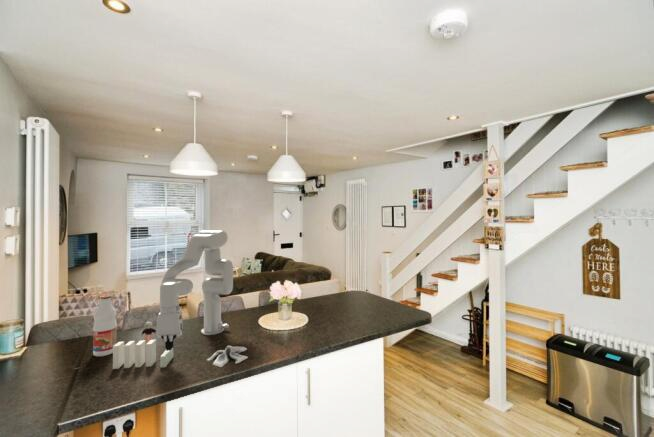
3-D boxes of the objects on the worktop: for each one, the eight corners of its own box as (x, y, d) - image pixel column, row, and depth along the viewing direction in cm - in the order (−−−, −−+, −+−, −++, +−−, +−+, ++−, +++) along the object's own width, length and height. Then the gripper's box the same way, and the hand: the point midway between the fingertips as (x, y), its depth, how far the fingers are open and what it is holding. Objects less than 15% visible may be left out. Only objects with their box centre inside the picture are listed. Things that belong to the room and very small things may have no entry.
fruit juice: (121, 350, 151) (121, 294, 151) (101, 358, 142) (101, 299, 142) (108, 347, 154) (108, 292, 154) (88, 354, 145) (88, 297, 146)
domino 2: (135, 362, 138) (135, 340, 138) (129, 367, 133) (129, 345, 133) (129, 362, 137) (129, 341, 137) (124, 368, 132) (124, 345, 132)
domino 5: (173, 346, 143) (165, 356, 133) (173, 357, 143) (165, 367, 133) (168, 347, 143) (160, 356, 133) (168, 357, 143) (160, 367, 133)
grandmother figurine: (139, 348, 152) (139, 323, 152) (140, 346, 156) (140, 321, 156) (157, 345, 156) (157, 321, 156) (157, 343, 159) (157, 319, 159)
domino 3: (145, 361, 138) (145, 340, 138) (140, 367, 133) (140, 344, 133) (140, 362, 138) (140, 340, 138) (135, 367, 133) (135, 344, 133)
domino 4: (156, 361, 139) (156, 339, 139) (151, 366, 134) (151, 343, 134) (150, 361, 139) (150, 339, 139) (146, 366, 134) (146, 344, 134)
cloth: (244, 346, 157) (244, 334, 157) (254, 360, 140) (254, 347, 141) (198, 355, 145) (198, 343, 145) (203, 372, 129) (203, 358, 129)
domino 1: (124, 363, 137) (124, 341, 137) (118, 368, 132) (118, 345, 132) (119, 363, 137) (119, 341, 137) (113, 368, 132) (113, 346, 132)
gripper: (189, 306, 142) (189, 345, 142) (155, 307, 140) (155, 346, 140) (183, 311, 135) (183, 352, 135) (148, 312, 133) (148, 354, 133)
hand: (169, 349), depth 138 cm, fingers closed
